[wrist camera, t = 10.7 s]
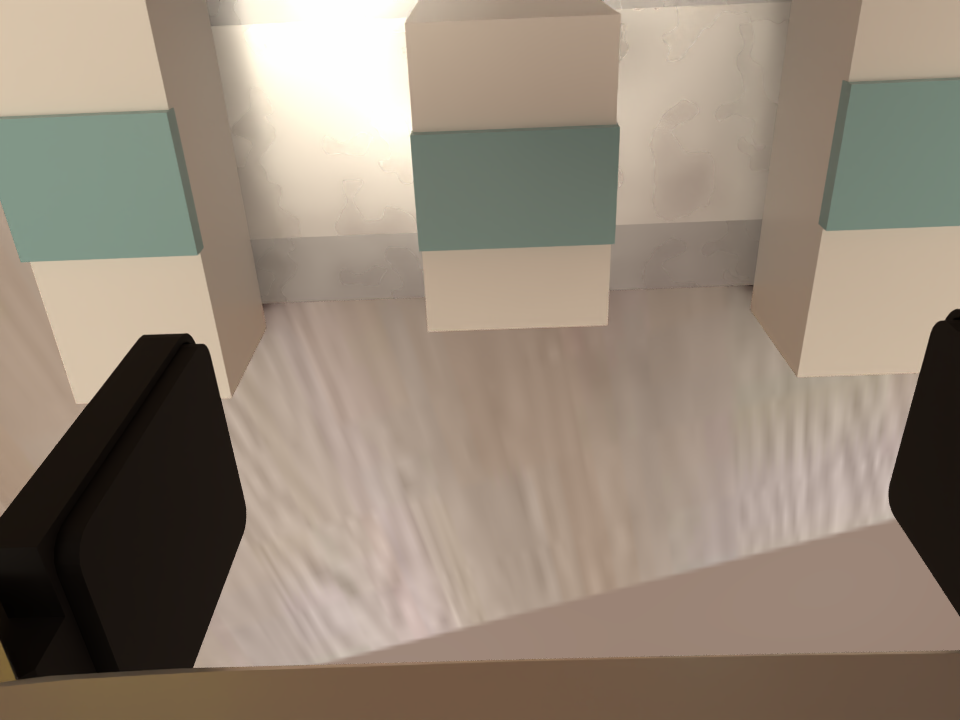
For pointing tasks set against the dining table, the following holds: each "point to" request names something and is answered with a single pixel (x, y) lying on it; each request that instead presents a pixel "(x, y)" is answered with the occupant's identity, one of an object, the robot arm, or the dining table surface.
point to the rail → (388, 123)
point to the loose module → (514, 160)
